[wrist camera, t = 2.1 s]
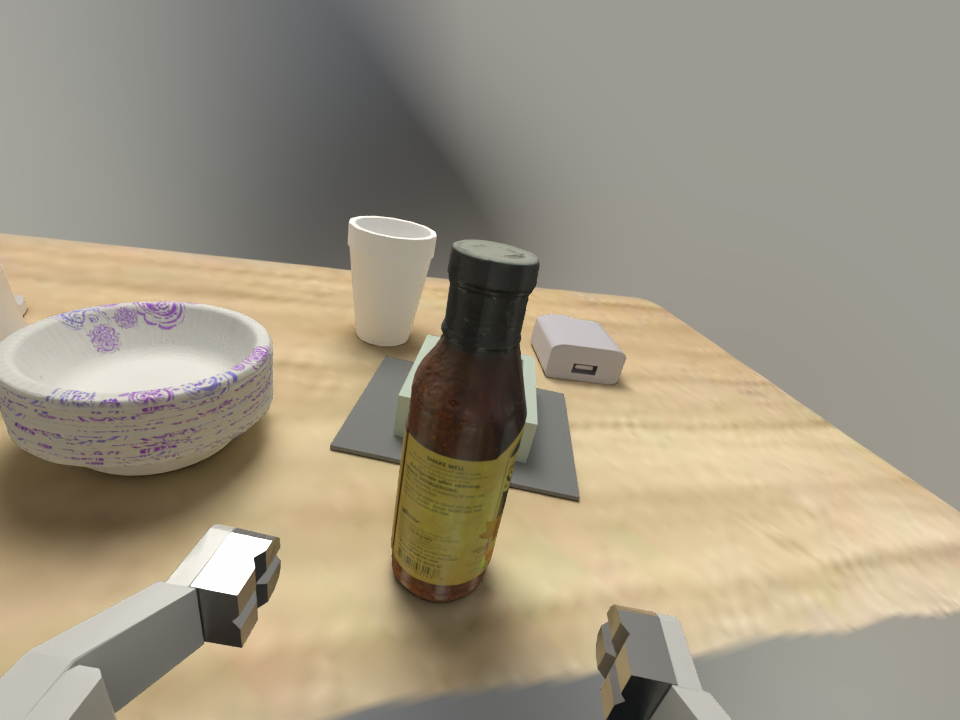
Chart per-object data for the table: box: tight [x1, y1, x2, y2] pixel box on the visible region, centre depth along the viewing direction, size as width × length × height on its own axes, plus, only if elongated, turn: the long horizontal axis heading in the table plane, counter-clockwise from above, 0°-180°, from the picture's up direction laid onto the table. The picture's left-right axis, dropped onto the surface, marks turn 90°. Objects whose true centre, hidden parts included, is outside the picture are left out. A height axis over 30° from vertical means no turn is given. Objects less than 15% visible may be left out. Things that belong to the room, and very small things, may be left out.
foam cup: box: [348, 216, 436, 346], centre depth 53 cm, size 10×9×13 cm
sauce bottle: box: [391, 240, 539, 602], centre depth 24 cm, size 6×6×20 cm
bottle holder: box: [393, 335, 538, 463], centre depth 43 cm, size 11×12×4 cm
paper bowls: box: [0, 301, 273, 476], centre depth 32 cm, size 15×15×8 cm
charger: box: [531, 314, 626, 385], centre depth 60 cm, size 5×9×15 cm
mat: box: [330, 356, 579, 501], centre depth 43 cm, size 20×16×1 cm
